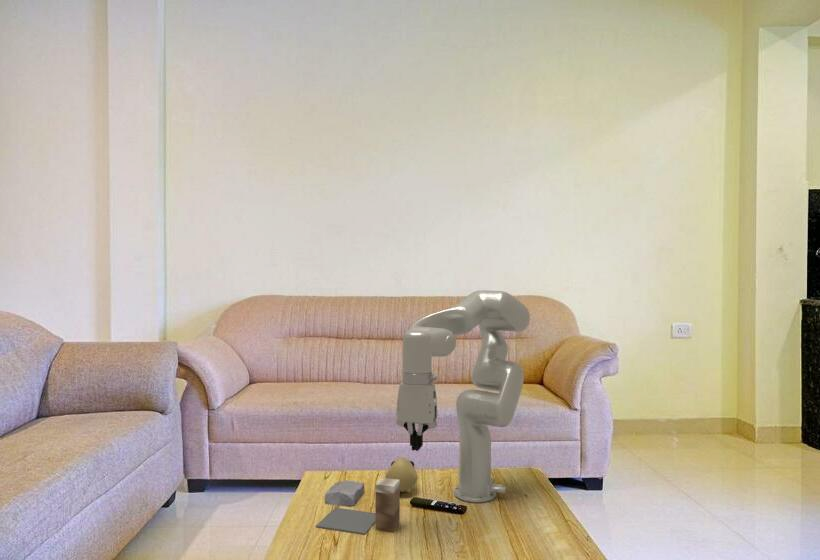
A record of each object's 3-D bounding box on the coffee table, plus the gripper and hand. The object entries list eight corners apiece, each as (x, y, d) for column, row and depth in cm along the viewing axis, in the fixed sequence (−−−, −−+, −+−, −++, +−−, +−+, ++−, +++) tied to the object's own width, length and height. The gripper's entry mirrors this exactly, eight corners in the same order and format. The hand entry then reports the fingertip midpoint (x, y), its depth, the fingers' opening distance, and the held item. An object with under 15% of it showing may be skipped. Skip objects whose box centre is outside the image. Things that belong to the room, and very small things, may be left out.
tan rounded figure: (419, 484, 181) (419, 450, 180) (416, 499, 169) (416, 463, 168) (388, 482, 182) (388, 449, 181) (383, 498, 170) (383, 462, 169)
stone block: (323, 511, 165) (355, 507, 163) (320, 494, 165) (352, 490, 163) (336, 496, 177) (367, 492, 175) (334, 481, 177) (364, 476, 175)
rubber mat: (381, 515, 158) (381, 513, 158) (365, 534, 146) (365, 533, 146) (335, 508, 162) (335, 507, 162) (315, 527, 151) (315, 525, 151)
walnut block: (399, 524, 153) (399, 479, 152) (393, 532, 148) (393, 486, 148) (382, 521, 154) (382, 477, 154) (375, 529, 149) (375, 484, 149)
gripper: (448, 377, 149) (447, 447, 149) (394, 374, 153) (393, 442, 154) (441, 383, 142) (440, 456, 142) (384, 379, 146) (384, 450, 147)
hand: (416, 448), depth 148 cm, fingers closed
